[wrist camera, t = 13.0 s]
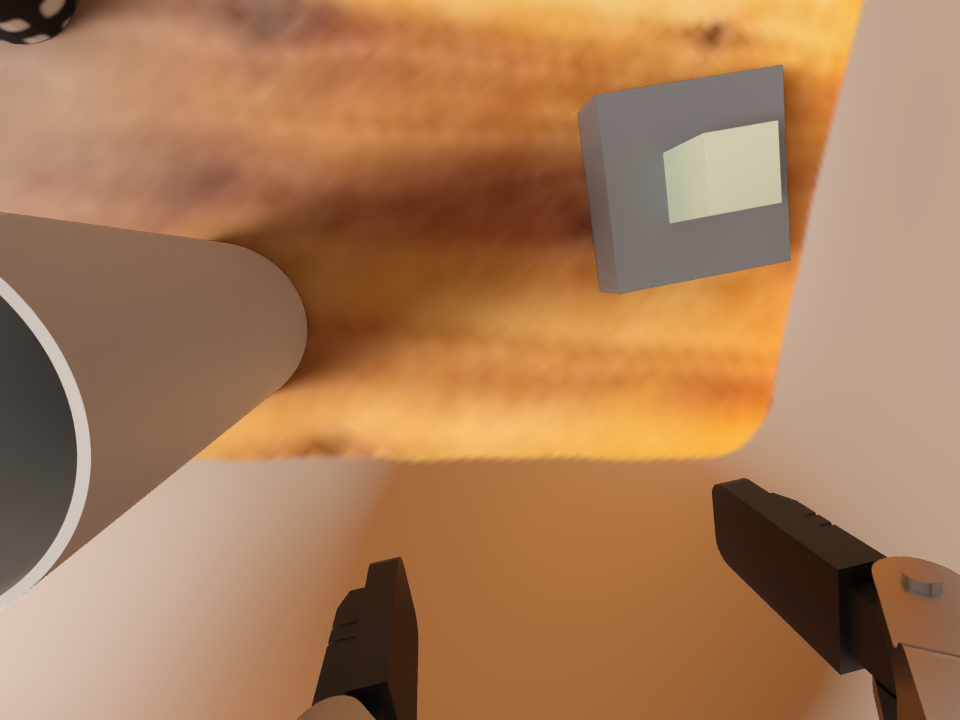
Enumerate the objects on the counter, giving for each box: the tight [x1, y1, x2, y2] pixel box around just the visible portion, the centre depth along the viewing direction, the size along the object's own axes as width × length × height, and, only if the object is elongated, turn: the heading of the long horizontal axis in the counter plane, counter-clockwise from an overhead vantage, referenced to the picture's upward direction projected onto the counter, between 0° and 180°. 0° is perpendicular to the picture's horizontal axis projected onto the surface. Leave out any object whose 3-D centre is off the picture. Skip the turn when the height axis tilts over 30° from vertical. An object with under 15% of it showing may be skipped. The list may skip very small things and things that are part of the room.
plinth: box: [578, 65, 791, 294], centre depth 36 cm, size 14×14×4 cm
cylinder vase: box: [0, 212, 307, 610], centre depth 24 cm, size 12×12×25 cm
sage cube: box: [663, 120, 782, 223], centre depth 32 cm, size 5×5×5 cm
